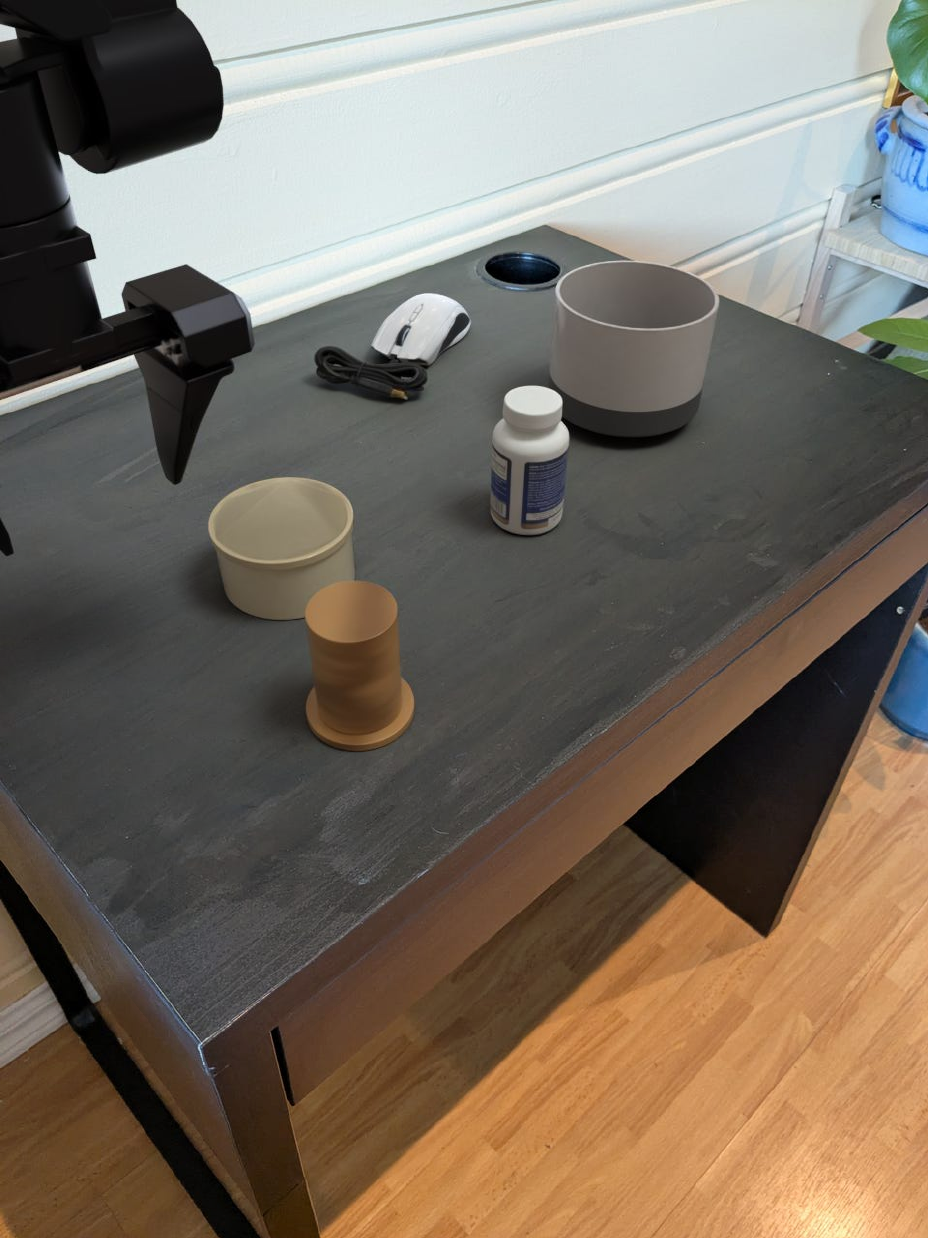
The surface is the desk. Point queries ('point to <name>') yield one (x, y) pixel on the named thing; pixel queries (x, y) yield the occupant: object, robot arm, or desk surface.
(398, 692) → the flanged wooden cylinder
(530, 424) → the pill bottle
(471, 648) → the desk surface
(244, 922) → the desk surface
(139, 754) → the desk surface
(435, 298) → the computer mouse
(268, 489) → the cream ceramic pot
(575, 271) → the planter
